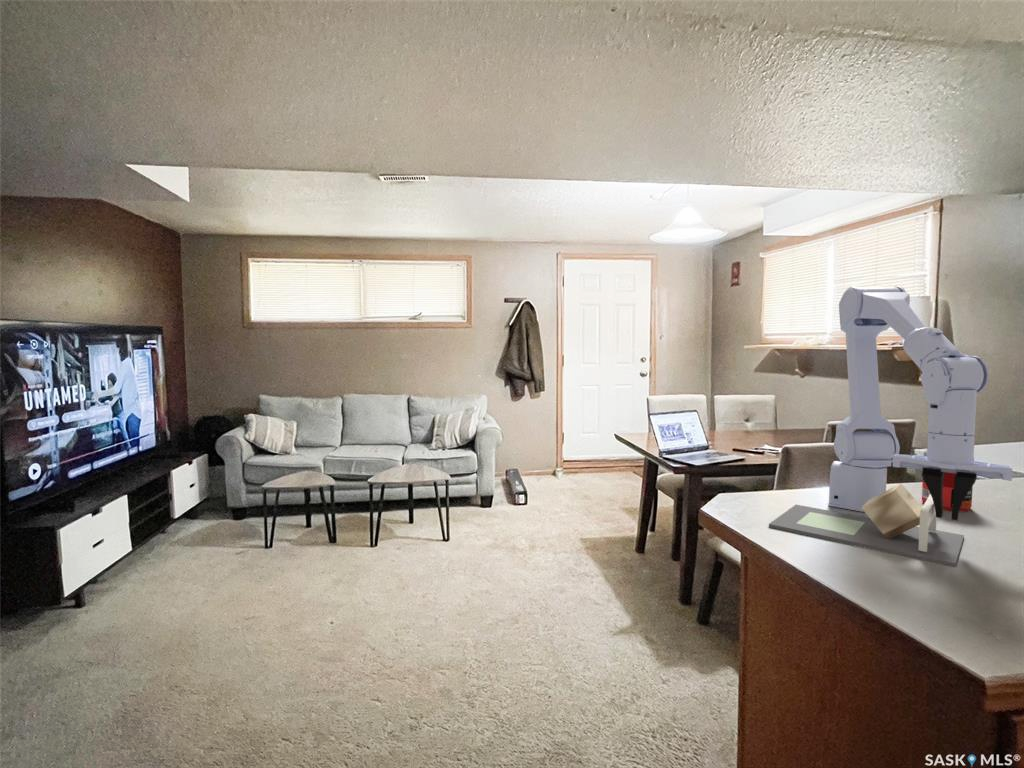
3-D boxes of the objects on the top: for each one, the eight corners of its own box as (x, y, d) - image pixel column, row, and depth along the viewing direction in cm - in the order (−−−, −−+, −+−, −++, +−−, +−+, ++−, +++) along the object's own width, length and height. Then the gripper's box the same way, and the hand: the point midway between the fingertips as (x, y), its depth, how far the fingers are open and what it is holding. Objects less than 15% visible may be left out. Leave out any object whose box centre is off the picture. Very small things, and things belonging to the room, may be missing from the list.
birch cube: (887, 539, 88) (861, 507, 90) (893, 530, 92) (868, 500, 95) (923, 522, 84) (895, 490, 87) (928, 514, 89) (901, 483, 91)
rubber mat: (768, 527, 96) (768, 523, 96) (795, 507, 108) (795, 504, 108) (955, 567, 78) (955, 563, 78) (963, 538, 90) (963, 535, 90)
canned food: (960, 514, 102) (963, 458, 101) (913, 504, 109) (915, 451, 109) (979, 509, 106) (982, 454, 105) (932, 499, 113) (935, 448, 112)
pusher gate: (918, 550, 82) (920, 510, 82) (928, 529, 92) (930, 493, 91) (926, 551, 82) (928, 512, 81) (936, 530, 91) (937, 494, 91)
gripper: (890, 431, 86) (887, 513, 87) (1013, 441, 76) (1008, 534, 77) (897, 426, 91) (894, 504, 92) (1014, 435, 81) (1009, 522, 82)
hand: (947, 517), depth 85 cm, fingers closed
